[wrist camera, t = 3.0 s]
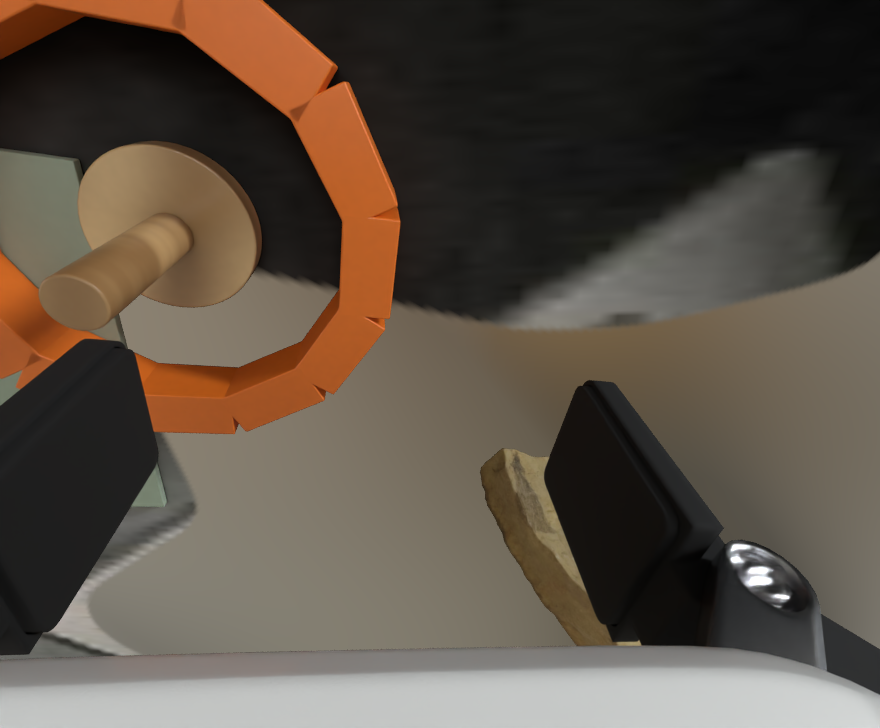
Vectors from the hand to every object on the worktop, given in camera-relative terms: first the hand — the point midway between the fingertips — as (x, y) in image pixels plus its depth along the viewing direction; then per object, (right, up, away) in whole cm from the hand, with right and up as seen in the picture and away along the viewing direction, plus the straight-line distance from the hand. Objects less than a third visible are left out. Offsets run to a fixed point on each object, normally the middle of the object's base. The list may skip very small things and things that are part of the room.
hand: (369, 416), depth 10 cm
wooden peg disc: (-8, +6, +7) cm, 13 cm away
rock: (+9, -6, +18) cm, 21 cm away
